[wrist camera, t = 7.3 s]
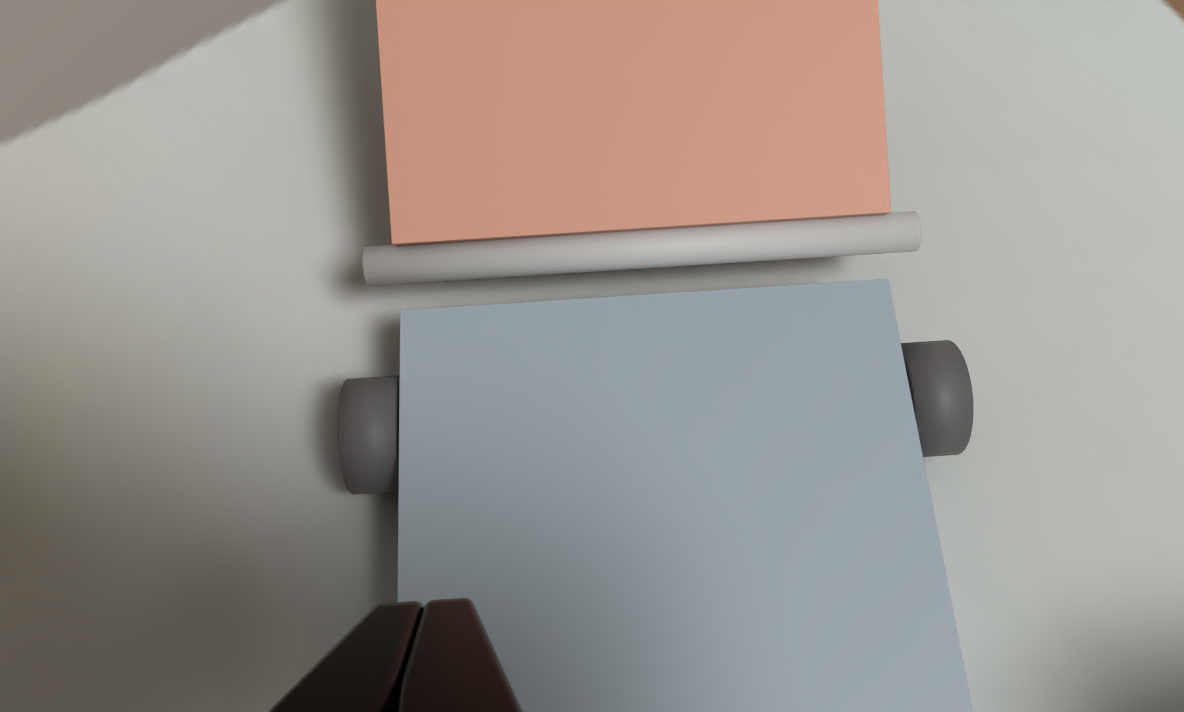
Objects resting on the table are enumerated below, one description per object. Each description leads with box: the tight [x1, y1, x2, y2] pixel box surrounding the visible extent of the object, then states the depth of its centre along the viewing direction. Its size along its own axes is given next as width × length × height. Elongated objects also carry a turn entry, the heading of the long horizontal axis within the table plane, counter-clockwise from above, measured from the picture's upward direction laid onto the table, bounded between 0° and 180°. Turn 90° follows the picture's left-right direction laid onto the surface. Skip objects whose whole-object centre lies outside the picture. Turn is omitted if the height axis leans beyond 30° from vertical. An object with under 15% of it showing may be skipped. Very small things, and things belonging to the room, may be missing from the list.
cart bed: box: [338, 279, 973, 712], centre depth 21 cm, size 14×14×3 cm
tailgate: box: [363, 0, 921, 286], centre depth 23 cm, size 1×12×10 cm
